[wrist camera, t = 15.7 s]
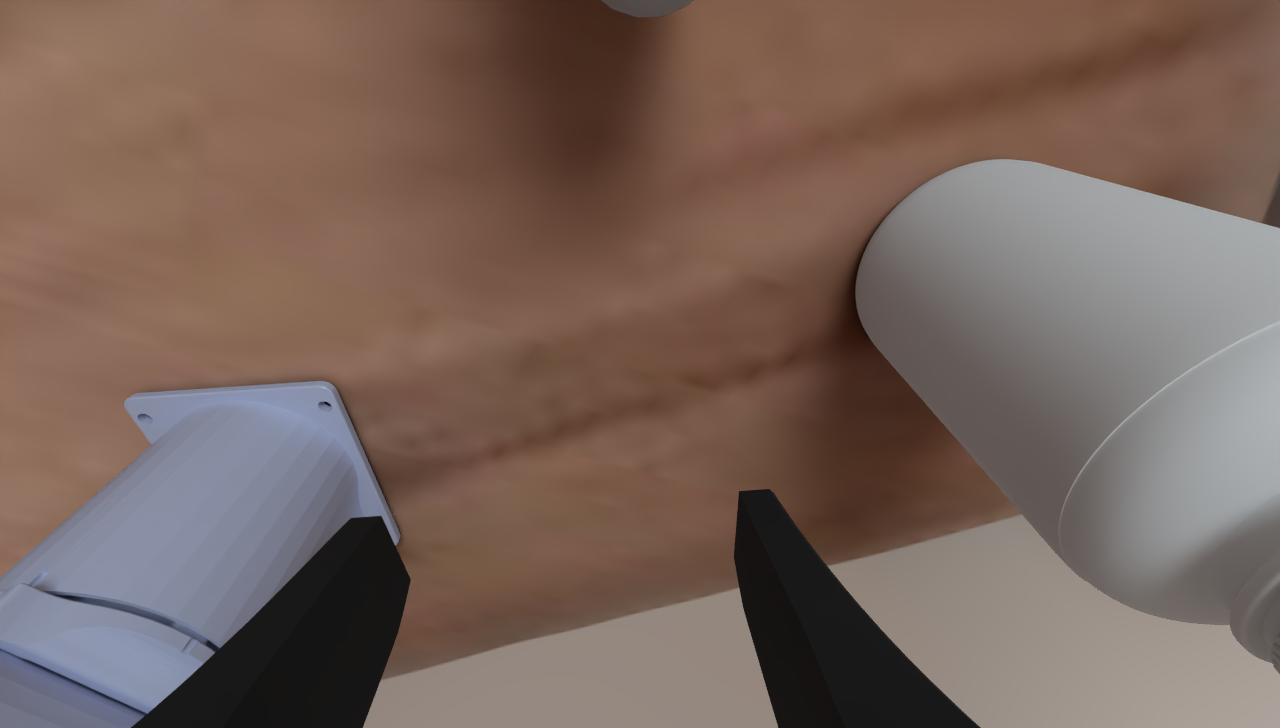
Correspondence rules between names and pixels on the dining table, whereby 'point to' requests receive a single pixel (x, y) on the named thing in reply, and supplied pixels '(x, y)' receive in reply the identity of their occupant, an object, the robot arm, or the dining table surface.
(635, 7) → the donut
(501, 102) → the dining table surface
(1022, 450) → the pill bottle
